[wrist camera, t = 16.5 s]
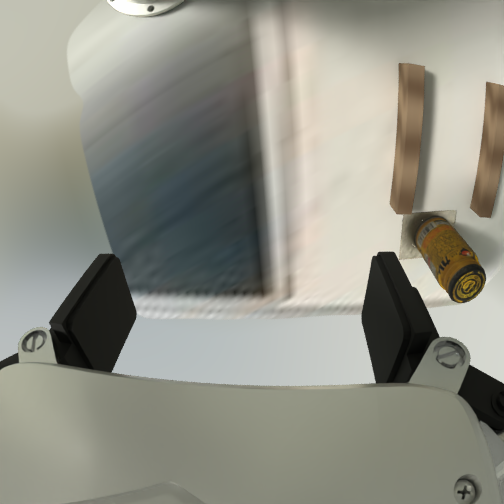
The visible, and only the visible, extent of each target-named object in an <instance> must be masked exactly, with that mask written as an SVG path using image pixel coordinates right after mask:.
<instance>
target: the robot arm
mask: <svg viewBox="0 0 504 504" xmlns="http://www.w3.org/2000/svg"><path fill="white" fill-rule="evenodd" d="M106 1H107V2H108V3H109V5H110V6H111V7H113V8H114V9H115V10H117V11H119V12H120V13H123V14H126V15H129V16H135V17H148V16H154V15H158V14H161V13H164V12H167V11H169V10H171V9H173V8H175V7H176V6H178V5H179V4H180V3H182V2H183V1H185V0H115V1H114V0H106ZM153 8H154V10H153V11H152V9H153ZM136 314H137V313H136V309H135V306H134V303H133V300H132V297H131V294H130V291H129V288H128V285H127V282H126V279H125V275H124V272H123V269H122V266H121V263H120V260H119V258H117V257H116V256H115V255H114V254H99V255H98V257H97V258H96V259H95V260H94V261H93V263H92V264H91V265H90V267H89V268H88V269H87V270H86V272H85V273H84V274H83V276H82V277H81V278H80V280H79V281H78V282H77V284H76V285H75V286H74V288H73V289H72V290H71V292H70V293H69V295H68V296H67V297H66V299H65V300H64V302H63V303H62V304H61V306H60V307H59V309H58V310H57V312H56V313H55V314H54V316H53V317H52V319H51V320H50V322H49V323H50V325H51V329H50V330H48V329H46V328H43V327H37V328H34V329H31V330H30V331H28V332H27V333H26V334H24V335H23V336H22V338H21V339H20V341H19V343H18V353H16V354H14V355H13V356H10V357H8V358H6V359H4V360H3V361H1V362H0V504H504V384H503V383H502V382H500V381H498V380H496V379H494V378H493V377H491V376H489V375H487V374H486V373H484V372H482V371H480V370H478V369H477V368H475V367H473V366H471V365H469V364H470V353H469V351H468V349H467V348H466V346H465V345H463V343H462V342H460V341H458V340H457V339H454V338H451V337H439V334H438V332H437V330H436V328H435V326H434V323H433V321H432V319H431V317H430V315H429V312H428V310H427V308H426V306H425V304H424V302H423V300H422V298H421V296H420V294H419V292H418V290H417V289H416V288H415V287H412V286H411V284H410V282H409V280H408V278H407V276H406V274H405V272H404V270H403V268H402V266H401V264H400V262H399V260H398V258H397V256H396V254H395V253H394V252H378V254H377V256H373V257H372V262H371V268H370V273H369V279H368V284H367V290H366V295H365V300H364V305H363V310H362V325H363V329H364V333H365V337H366V341H367V345H368V349H369V354H370V358H371V362H372V367H373V371H374V376H375V381H376V383H375V384H353V385H323V386H254V385H228V384H227V385H226V384H210V383H197V382H183V381H174V380H164V379H154V378H146V377H139V376H131V375H124V374H117V373H111V372H112V370H113V368H114V366H115V363H116V361H117V359H118V357H119V354H120V352H121V350H122V348H123V346H124V343H125V341H126V339H127V337H128V335H129V333H130V330H131V328H132V326H133V324H134V322H135V320H136Z"/></svg>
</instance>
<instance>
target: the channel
mask: <svg viewBox="0 0 504 504" xmlns="http://www.w3.org/2000/svg"><path fill="white" fill-rule="evenodd" d="M424 71H425V66H420V65H415V64H408V63H399V92H398V119H397V136H396V149H395V161H394V171H393V181H392V189H391V198H390V205H391V207H392V208H393V210H394V211H395V212H396V214H409V215H411V214H412V208H413V201H414V195H415V188H416V181H417V173H418V165H419V156H420V146H421V135H422V122H423V105H424ZM503 155H504V86H503V85H500V84H495V83H490V82H486V99H485V113H484V124H483V134H482V142H481V150H480V157H479V163H478V169H477V175H476V181H475V186H474V191H473V196H472V201H471V206H470V208H471V209H472V210H473V211H474V212H475V213H476V214H477V215H478V216H479V217H487V218H491V214H492V210H493V206H494V201H495V197H496V193H497V188H498V183H499V178H500V173H501V167H502V161H503Z"/></svg>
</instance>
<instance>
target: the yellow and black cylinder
mask: <svg viewBox="0 0 504 504" xmlns="http://www.w3.org/2000/svg"><path fill="white" fill-rule="evenodd" d="M455 217H456V210H452V211H433V212H421V213H412V214H411V215H409V214H404V215H403V224H402V234H401V245H400V255H399V260H402V259H413V258H422V257H423V258H424V260H425V262H426V263H427V265H428V266H429V268H430V270H431V271H432V273H433V275H434V276H435V278H436V280H437V281H438V283H439V285H440V286H441V287H442V288H443V289H444V290H446V292H447V293H448V294H449V296H450V298H451V300H452V301H455V302H457V303H465V302H469V301H470V300H472V299H474V298H475V297H476V296H477V295H478V294H479V293H480V292H481V291H482V289H483V287H484V285H485V281H486V274H485V272H484V269H483V268H482V267H481V265H480V263H479V261H478V258H477V256H476V254H475V253H474V251H473V250H472V249H471V248H470V247H469V245H468V244H467V243H466V241H465V240H464V239H463V238H462V237H461V236H460V235H459V233H458V232H457V231H456V230H455V229H454V223H455ZM422 220H423V221H422ZM412 244H413V245H412ZM414 246H415V247H414Z"/></svg>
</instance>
